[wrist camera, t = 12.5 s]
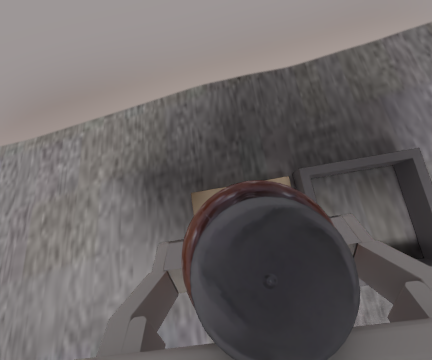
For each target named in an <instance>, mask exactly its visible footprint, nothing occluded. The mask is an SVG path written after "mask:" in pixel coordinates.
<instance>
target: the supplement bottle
mask: <svg viewBox="0 0 432 360" xmlns="http://www.w3.org/2000/svg"><path fill="white" fill-rule="evenodd" d="M182 274H183V280H184V284H185V287H186V290H187V293H188V295H189V298H190V300H191V302H192V304H193V306H194V308H195V310H196V312H197V315H198V318H199V320H200V321H201V323H202V326H203V327H204V329H205V331H206V332H207V334H208V335H209V336H210V337H211V339H212V340H213V341H214V342H215V344H216V345H217V346H218V347H220V348H221V349H222V350H223V351H224V352H225V353H226V354H227V355H229V356H230V357H231V358H233V359H234V360H327V359H329V358H330V357H331V356H332V355H333V354H335V353H336V352H337V351H338V350H339V348H340V347H341V346H342V345H343V344H344V343H345V341H346V339H347V337H348V336H349V334H350V333H351V330H352V328H353V326H354V323H355V320H356V316H357V313H358V309H359V304H360V286H359V277H358V273H357V267H356V263H355V261H354V258H353V255H352V253H351V251H350V249H349V247H348V245H347V243H346V242H345V240H344V238H343V237H342V235H341V234H340V233H339V231H338V230H337V229H336V227H335V226H334V224H333V222H332V221H331V219H330V218H329V217H328V216H327V214H326V213H325V212H324V211H323V210H322V208H321V207H320V206H319V205H318V204H317V203H315V202H314V201H313V200H312V199H311V198H309V197H308V196H307V195H305V194H303V193H302V192H300V191H298V190H296V189H294V188H292V187H290V186H288V185H284V184H281V183H277V182H272V181H264V180H252V181H245V182H241V183H237V184H233V185H230V186H228V187H226V188H224V189H222V190H220V191H219V192H217V193H216V194H214V195H213V196H212V197H210V198H209V199H208V200H207V201H206V202H205V203H204V204H203V205H202V206H201V207H200V208H199V210H198V211H197V212H196V214H195V215H194V217H193V219H192V220H191V222H190V224H189V226H188V229H187V232H186V235H185V237H184V242H183V247H182Z"/></svg>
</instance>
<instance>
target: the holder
mask: <svg viewBox="0 0 432 360" xmlns="http://www.w3.org/2000/svg"><path fill="white" fill-rule="evenodd" d="M389 165H394V168H395V171H396V174H397V177H398V181H399V184H400V187H401V190H402V193H403V196H404V199H405V202H406V205H407V208H408V211H409V214H410V217H411V220H412V223H413V226H414V229H415V232H416V235H417V238H418V241H419V244H420V247H421V250H422V253H423V257H424V258H423V259H416V260H418V261H420V262H422V263H424V264H426V265H428V266H430V267H432V182H431V179H430V176H429V173H428V171H427V168H426V165H425V162H424V160H423V157H422V154H421V151H420V148H415V149H409V150H403V151H397V152H392V153H386V154H380V155H374V156H369V157H363V158H357V159H351V160H346V161H340V162H334V163H328V164H323V165H317V166H311V167H305V168H300V169H298V170H297V171H296V172H295V173H293V178H294V182H295V186H296V190H298V191H300V192H302V193H303V194H305V195H307V196H308V197H309V198H311V199H312V200H313V201H314V202H315V203H317V202H316V198H315V194H314V190H313V186H312V182H311V179H313V178H319V177H325V176H330V175H336V174H342V173H348V172H354V171H360V170H366V169H372V168H378V167H384V166H389ZM366 285H367V284H366V283H365V282H364V281H362V280H361V279H360V278H359V286H366Z"/></svg>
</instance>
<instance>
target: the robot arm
mask: <svg viewBox="0 0 432 360" xmlns="http://www.w3.org/2000/svg"><path fill="white" fill-rule="evenodd" d="M329 218H330V219H331V221H332V222H333V224H334V226H335V227H336V229H337V230H338V231H339V233H340V234H341V235H342V237H343V238H344V240H345V242H346V243H347V245H348V247H349V249H350V251H351V253H352V255H353V258H354V261H355V263H356V267H357V273H358V277H359V278H360V279H361V280H362V281H364V282H365V283H366V284H367V285H369V286H370V287H371V288H373V289H374V290H375V291H376V292H378V293H379V294H380V295H382V296H383V297H384V298H386V299H387V300H388V301H389V302H391V303H392V304H393V307H392V309H391V311H390V313H389V315H388V317H387V318H388V319H389V321H390V322H391V323H383V324H374V325H366V326H357V327H353V328H352V330H351V333H350V334H349V336H348V337H347V339H346V341H345V343H344V344H343V345H342V346H341V347H340V348H339V350H338V351H337V352H336V353H335V354H333V355H332V356H331V357H330V358H329V359H327V360H432V267H430V266H428V265H426V264H424V263H422V262H420V261H418V260H416V259H414V258H412V257H410V256H408V255H406V254H404V253H402V252H400V251H398V250H396V249H394V248H392V247H390V246H388V245H386V244H384V243H382V242H380V241H374V239H373V238H372V237H371V236H370V235H369V233H368V232H367V231H366V230H365V228H364V227H363V226H362V225H361V224H360V222H359V221H358V220H357V219H356V218H355V216H354V215H353V214H344V215H339V216H338V215H337V216H331V217H329ZM183 242H184V239H183V240H176V241H169V242H161V243H159V245H158V247H157V252H156V256H155V260H154V265H153V269H152V273H149V274H148V275H147V276H146V277H145V278H144V279H143V281H142V282H141V283H140V284H139V285H138V286H137V288H136V289H135V290H134V291H133V292H132V293H131V294H130V296H129V297H128V298H127V299H126V300H125V301H124V303H123V304H122V305H121V306H120V307H119V308H118V310H117V311H116V312H115V313H114V314H113V315H112V317H111V318H110V319H109V321H108V324H107V327H106V330H105V333H104V335H103V338H102V341H101V344H100V347H99V350H98V353H97V356H96V357H93V358H85V359H76V360H234V359H233V358H231V357H230V356H229V355H227V354H226V353H225V352H224V351H223V350H222V349H221V348H220V347H218V346H217V345H216V344H215V343H212V344H204V345H195V346H187V347H178V348H170V349H165V343H164V341H163V340H162V339H161V337H160V336H159V335H158V333H157V331H158V329H159V328H160V326H161V324H162V322H163V321H164V319H165V317H166V316H167V314H168V312H169V310H170V309H171V307H172V305H173V304H174V302H175V300H176V298H177V297H178V294H179V293H185V292H187V290H186V287H185V284H184V280H183V274H182V247H183Z"/></svg>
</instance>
